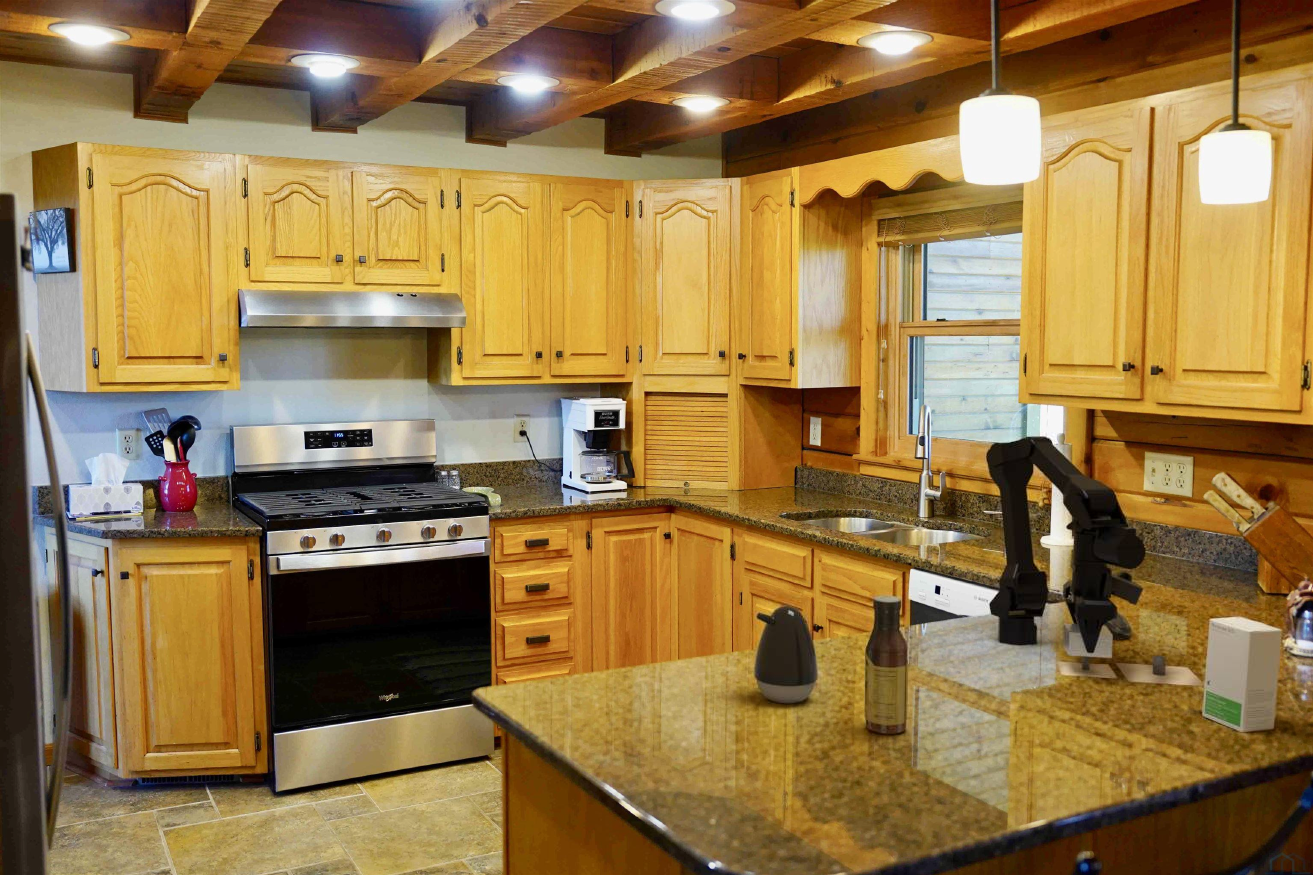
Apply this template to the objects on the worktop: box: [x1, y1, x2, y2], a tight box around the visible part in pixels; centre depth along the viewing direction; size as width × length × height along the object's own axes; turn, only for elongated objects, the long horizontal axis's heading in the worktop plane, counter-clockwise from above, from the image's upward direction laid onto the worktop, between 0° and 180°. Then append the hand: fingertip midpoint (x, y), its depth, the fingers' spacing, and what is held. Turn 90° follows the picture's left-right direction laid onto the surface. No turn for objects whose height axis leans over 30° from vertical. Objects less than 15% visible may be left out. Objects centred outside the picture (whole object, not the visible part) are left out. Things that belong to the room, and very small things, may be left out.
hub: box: [1115, 654, 1205, 687], centre depth 200 cm, size 12×12×4 cm
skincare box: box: [1201, 616, 1283, 733], centre depth 177 cm, size 8×7×16 cm
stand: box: [1054, 656, 1118, 679], centre depth 203 cm, size 9×9×4 cm
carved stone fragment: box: [1104, 610, 1133, 640], centre depth 233 cm, size 11×9×10 cm
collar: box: [1062, 622, 1114, 659], centre depth 202 cm, size 7×7×4 cm
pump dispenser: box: [753, 605, 819, 704], centre depth 187 cm, size 10×10×15 cm
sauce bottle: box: [864, 595, 909, 736], centre depth 172 cm, size 6×6×20 cm
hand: (1086, 647), depth 202 cm, fingers closed on collar, 7 cm apart
